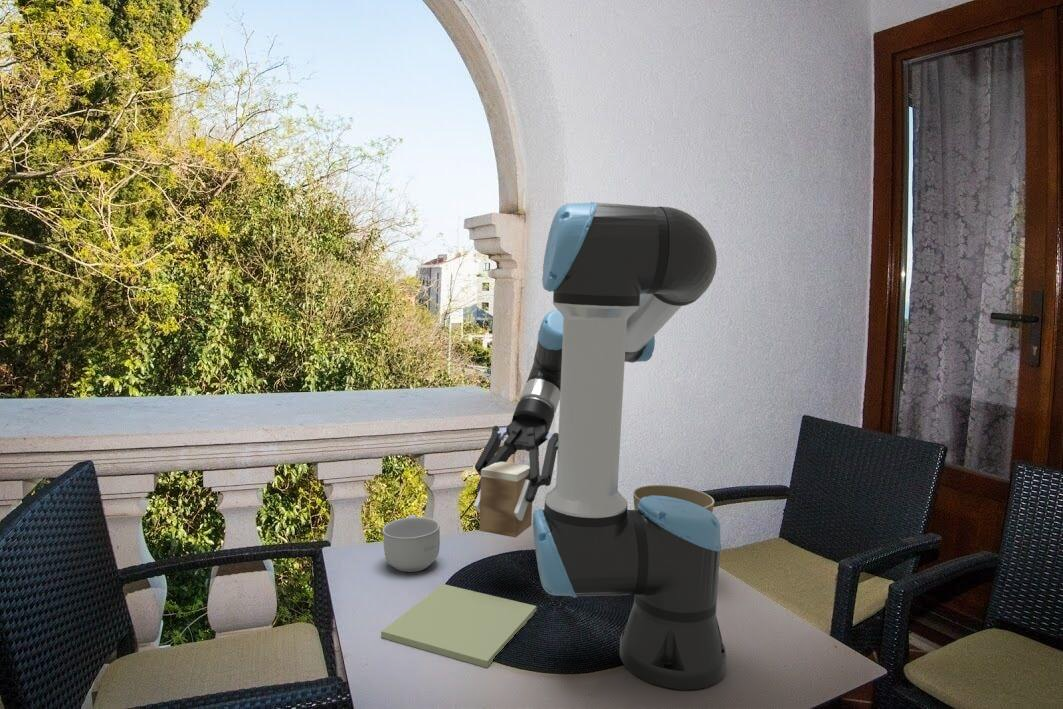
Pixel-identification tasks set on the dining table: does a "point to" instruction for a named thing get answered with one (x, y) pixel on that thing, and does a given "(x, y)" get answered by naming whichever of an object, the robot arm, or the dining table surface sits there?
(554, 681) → the dining table surface
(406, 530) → the teacup
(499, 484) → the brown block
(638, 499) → the plant pot
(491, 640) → the olive mat
